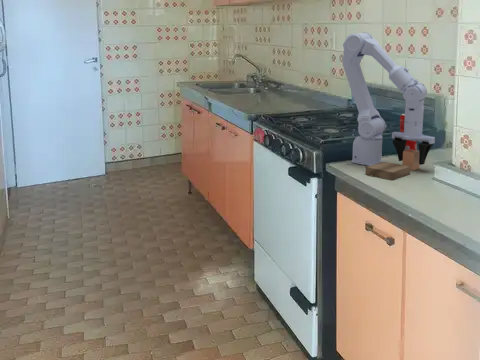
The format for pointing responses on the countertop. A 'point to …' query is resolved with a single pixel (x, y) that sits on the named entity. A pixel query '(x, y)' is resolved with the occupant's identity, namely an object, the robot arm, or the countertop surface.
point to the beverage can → (409, 143)
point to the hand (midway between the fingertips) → (411, 162)
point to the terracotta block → (411, 159)
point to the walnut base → (388, 170)
